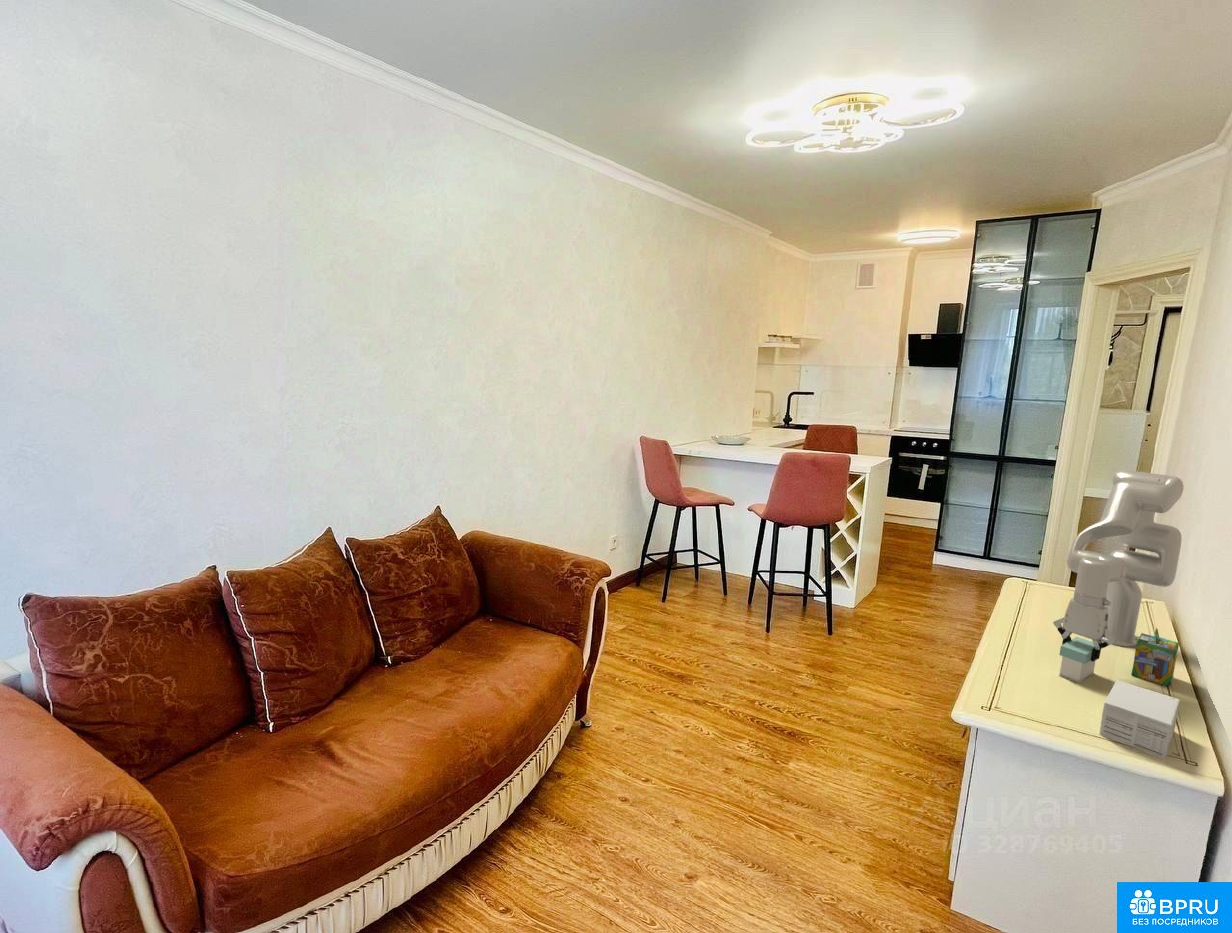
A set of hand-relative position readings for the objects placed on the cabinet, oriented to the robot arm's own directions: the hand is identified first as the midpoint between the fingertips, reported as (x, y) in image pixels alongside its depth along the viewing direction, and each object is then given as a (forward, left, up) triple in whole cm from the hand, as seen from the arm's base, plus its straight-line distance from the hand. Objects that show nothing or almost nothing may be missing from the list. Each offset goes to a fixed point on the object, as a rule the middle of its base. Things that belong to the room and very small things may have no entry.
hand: (1079, 654), depth 186 cm
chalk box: (-19, +13, -7) cm, 24 cm away
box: (0, 0, -6) cm, 6 cm away
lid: (0, 0, 0) cm, 0 cm away
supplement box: (+22, +21, -7) cm, 31 cm away
